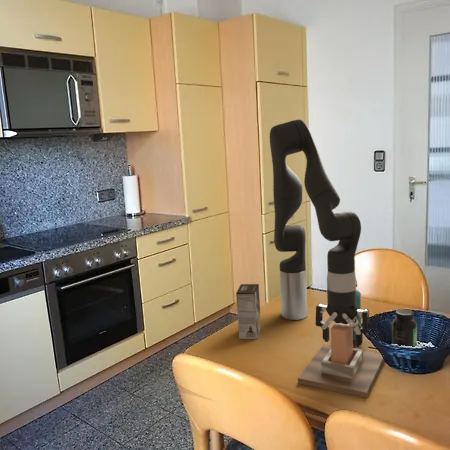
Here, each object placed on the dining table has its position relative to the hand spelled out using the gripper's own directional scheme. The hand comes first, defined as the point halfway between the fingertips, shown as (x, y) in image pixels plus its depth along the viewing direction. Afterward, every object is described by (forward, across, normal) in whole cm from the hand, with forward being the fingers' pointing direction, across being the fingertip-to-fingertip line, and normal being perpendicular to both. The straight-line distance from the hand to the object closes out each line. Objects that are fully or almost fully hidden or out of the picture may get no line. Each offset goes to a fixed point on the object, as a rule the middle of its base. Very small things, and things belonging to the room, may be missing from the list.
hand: (342, 343), depth 129 cm
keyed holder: (+8, 0, 0) cm, 8 cm away
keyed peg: (+7, 0, 0) cm, 7 cm away
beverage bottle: (+8, -3, +20) cm, 22 cm away
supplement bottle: (+8, +13, +19) cm, 24 cm away
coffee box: (+8, -35, +13) cm, 38 cm away
